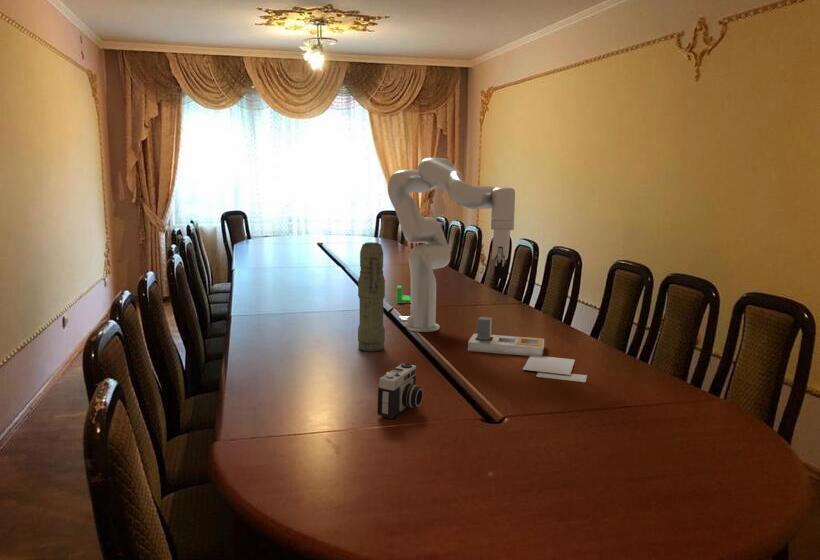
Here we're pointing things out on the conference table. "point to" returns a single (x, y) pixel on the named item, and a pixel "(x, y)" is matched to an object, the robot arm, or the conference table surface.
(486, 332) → the peg
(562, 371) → the paper stack
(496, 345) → the white compartment tray
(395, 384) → the camera
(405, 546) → the conference table surface
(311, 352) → the conference table surface
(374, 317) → the stone statue
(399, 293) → the mechanical part
